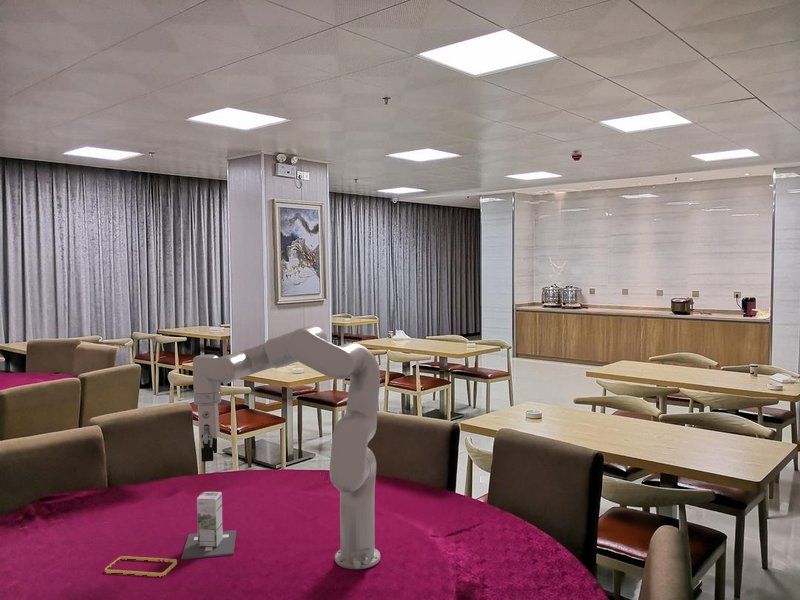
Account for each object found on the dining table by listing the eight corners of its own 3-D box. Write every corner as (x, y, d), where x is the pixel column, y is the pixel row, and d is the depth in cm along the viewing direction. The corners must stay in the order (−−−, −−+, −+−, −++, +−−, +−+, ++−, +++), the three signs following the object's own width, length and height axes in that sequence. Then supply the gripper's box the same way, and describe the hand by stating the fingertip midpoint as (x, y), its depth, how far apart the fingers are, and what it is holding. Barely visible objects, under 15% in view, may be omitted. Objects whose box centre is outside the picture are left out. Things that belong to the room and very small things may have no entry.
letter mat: (233, 554, 178) (233, 552, 178) (181, 559, 175) (181, 557, 175) (236, 531, 194) (236, 529, 194) (188, 535, 191) (188, 533, 191)
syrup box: (223, 539, 187) (222, 491, 186) (216, 548, 181) (215, 498, 180) (204, 538, 187) (203, 490, 186) (197, 547, 181) (196, 498, 181)
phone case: (120, 560, 176) (120, 555, 176) (178, 564, 174) (178, 559, 174) (103, 574, 168) (103, 569, 168) (163, 578, 166) (163, 573, 166)
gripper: (218, 403, 174) (220, 464, 175) (223, 391, 191) (224, 447, 192) (190, 404, 173) (192, 466, 174) (197, 392, 190) (199, 448, 191)
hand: (209, 456), depth 183 cm, fingers open, 9 cm apart
